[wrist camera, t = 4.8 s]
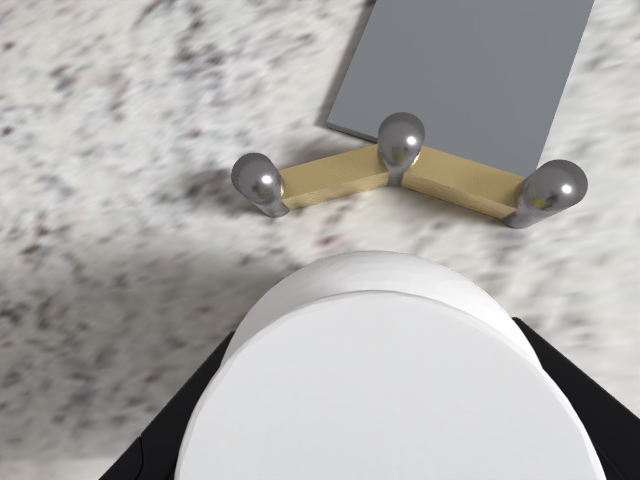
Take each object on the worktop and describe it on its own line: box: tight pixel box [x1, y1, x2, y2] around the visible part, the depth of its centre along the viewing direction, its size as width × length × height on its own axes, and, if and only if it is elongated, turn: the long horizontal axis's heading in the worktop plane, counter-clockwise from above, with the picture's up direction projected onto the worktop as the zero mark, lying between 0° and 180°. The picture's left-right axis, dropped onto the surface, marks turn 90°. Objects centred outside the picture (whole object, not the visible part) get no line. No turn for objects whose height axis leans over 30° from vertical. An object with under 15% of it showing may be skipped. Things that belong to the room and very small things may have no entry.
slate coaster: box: [326, 0, 594, 178], centre depth 19 cm, size 10×10×1 cm
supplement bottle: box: [174, 251, 606, 480], centre depth 10 cm, size 7×7×13 cm
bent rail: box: [231, 112, 588, 229], centre depth 16 cm, size 13×5×4 cm, turn 68°
